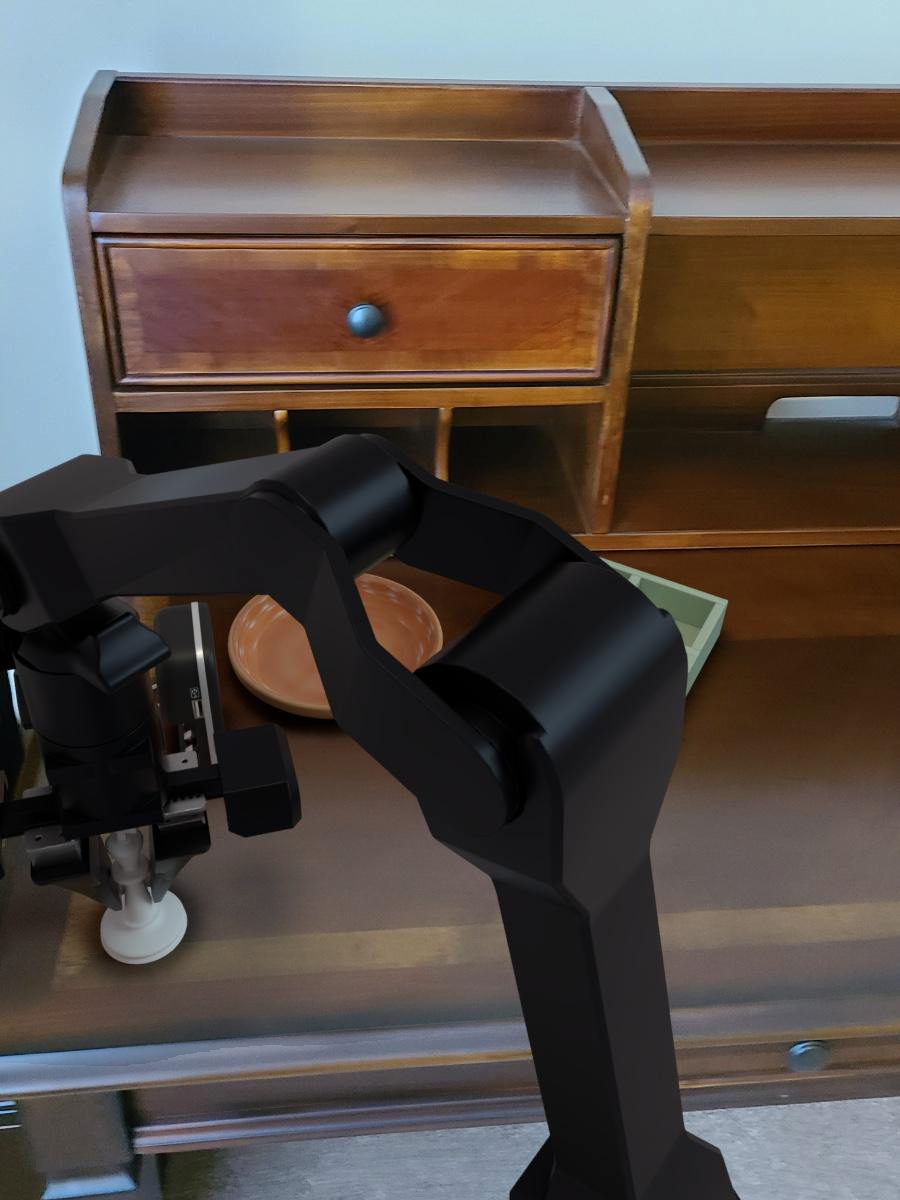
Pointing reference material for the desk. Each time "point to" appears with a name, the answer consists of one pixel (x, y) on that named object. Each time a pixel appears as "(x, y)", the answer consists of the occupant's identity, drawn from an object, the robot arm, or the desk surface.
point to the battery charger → (190, 678)
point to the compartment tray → (683, 613)
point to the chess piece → (139, 907)
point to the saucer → (283, 654)
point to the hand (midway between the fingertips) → (138, 899)
